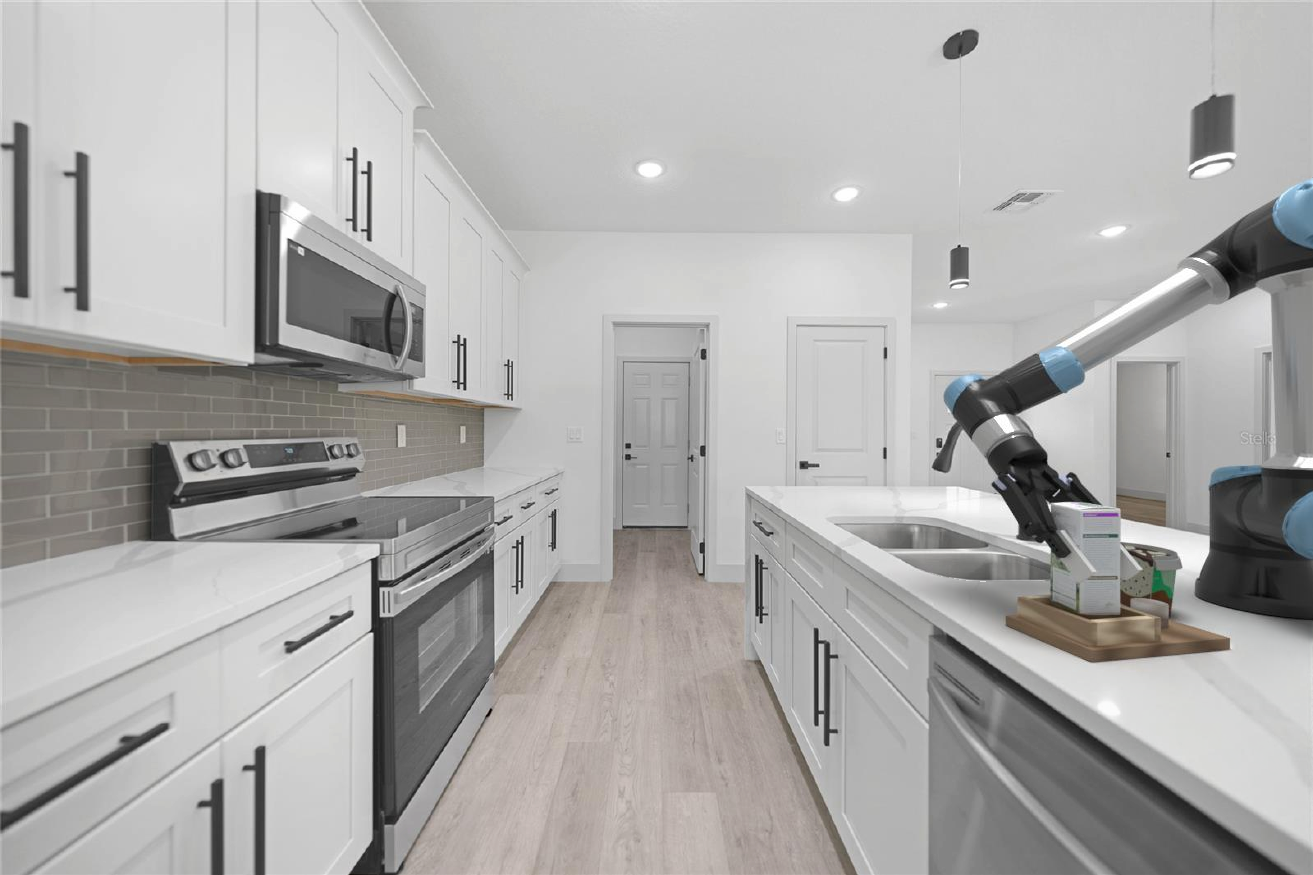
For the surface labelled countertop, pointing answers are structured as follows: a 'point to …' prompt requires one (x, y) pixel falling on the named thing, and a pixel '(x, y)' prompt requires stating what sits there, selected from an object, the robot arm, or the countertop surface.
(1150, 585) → the food container
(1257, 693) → the countertop surface
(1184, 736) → the countertop surface
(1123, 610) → the wooden tray on board
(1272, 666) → the countertop surface
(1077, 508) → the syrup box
